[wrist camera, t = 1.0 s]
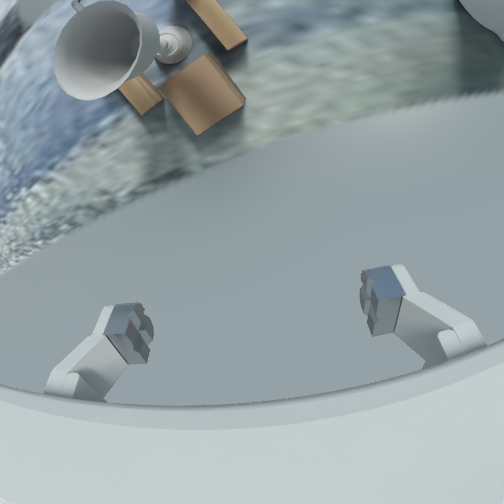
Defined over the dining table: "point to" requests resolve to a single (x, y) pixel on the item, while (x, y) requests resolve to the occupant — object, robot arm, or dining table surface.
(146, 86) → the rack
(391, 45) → the dining table surface
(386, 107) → the dining table surface
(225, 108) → the walnut block
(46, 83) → the dining table surface
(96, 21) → the chalice
